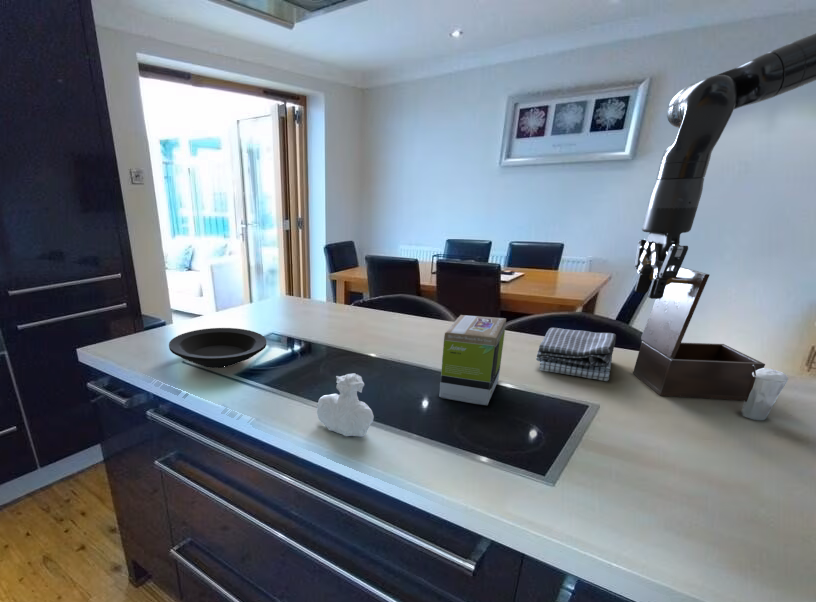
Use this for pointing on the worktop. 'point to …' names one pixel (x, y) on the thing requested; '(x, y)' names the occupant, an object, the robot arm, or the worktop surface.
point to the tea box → (472, 359)
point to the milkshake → (763, 392)
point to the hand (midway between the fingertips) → (647, 294)
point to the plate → (217, 346)
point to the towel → (577, 353)
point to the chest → (697, 371)
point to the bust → (345, 408)
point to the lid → (674, 311)
